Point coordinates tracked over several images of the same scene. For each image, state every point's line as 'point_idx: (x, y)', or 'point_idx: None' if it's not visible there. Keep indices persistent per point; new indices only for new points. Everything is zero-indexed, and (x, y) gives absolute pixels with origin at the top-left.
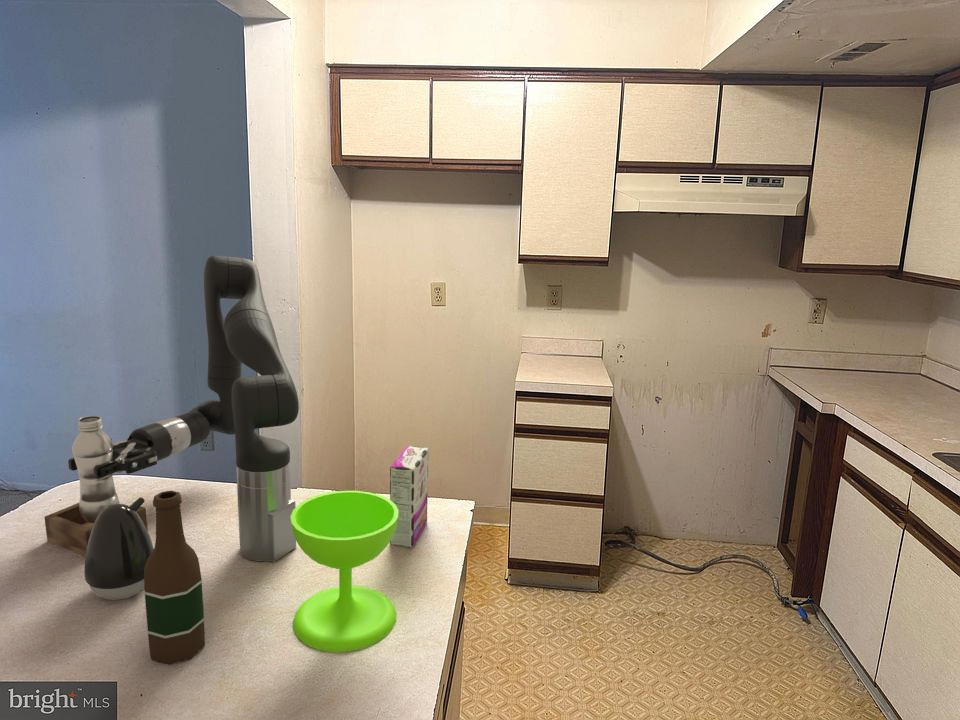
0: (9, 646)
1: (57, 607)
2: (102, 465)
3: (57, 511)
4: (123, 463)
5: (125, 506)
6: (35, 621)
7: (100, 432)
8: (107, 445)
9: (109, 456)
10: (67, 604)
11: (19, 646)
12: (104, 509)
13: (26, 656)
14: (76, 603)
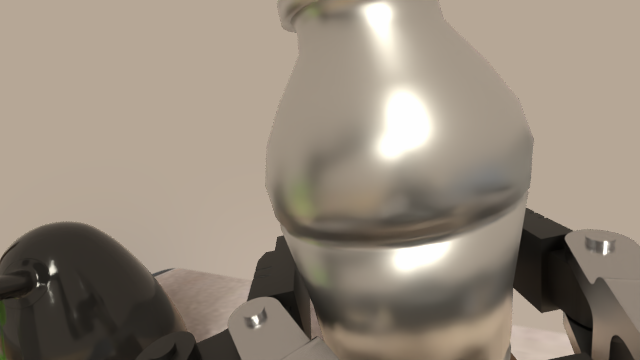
0: (216, 274)
1: (220, 320)
2: (280, 249)
3: (513, 357)
4: (207, 341)
5: (14, 242)
6: (224, 297)
7: (302, 50)
8: (268, 164)
9: (292, 251)
10: (211, 330)
11: (205, 279)
12: (75, 222)
13: (185, 280)
14: (199, 338)
